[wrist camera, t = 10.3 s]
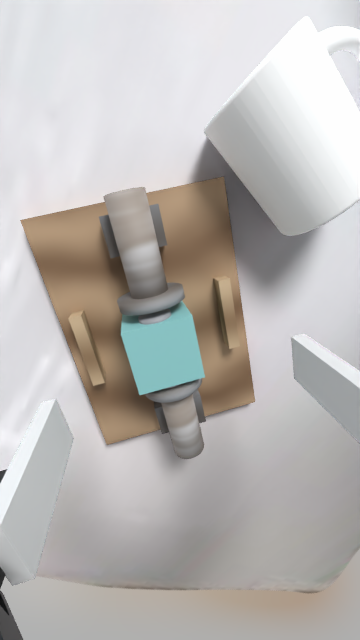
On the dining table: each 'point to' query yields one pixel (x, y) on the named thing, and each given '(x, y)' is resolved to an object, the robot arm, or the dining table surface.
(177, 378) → the block
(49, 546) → the dining table surface
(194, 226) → the shaft board
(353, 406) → the robot arm
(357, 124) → the mug
